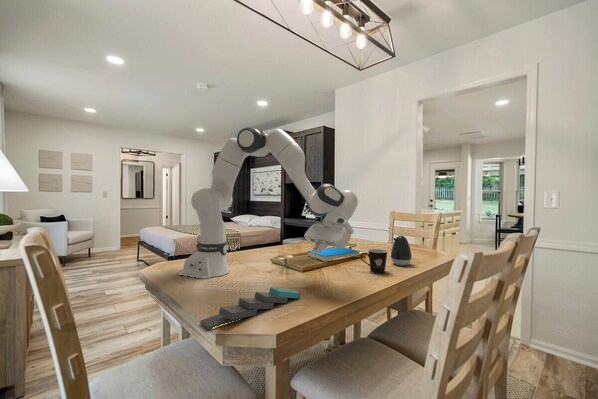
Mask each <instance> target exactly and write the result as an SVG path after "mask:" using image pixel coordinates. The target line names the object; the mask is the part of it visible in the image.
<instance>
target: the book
mask: <svg viewBox="0 0 598 399" xmlns="http://www.w3.org/2000/svg"><path fill="white" fill-rule="evenodd" d="M308 254H309V255H311V256H313V257H316V258H319V259H322V260H329V259H334V258H340V257H347V256H352V255H359V256H360V251H359V250H355V249H351V248H348V247H344V248H339V247H330V248H329V247H326V248H325V249H323V250H322V251H321V253H316V252H314V251H313V249H311V250H308V251H307V255H308Z"/></svg>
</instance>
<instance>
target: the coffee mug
mask: <svg viewBox="0 0 598 399" xmlns="http://www.w3.org/2000/svg"><path fill="white" fill-rule="evenodd" d="M363 255H366V256H367V257H368V259H369V263H368V262H367V261H365V260H364V259H363V258H362V256H363ZM387 256H388V250H386V249H381V248H370V249H368V253H367V252H362V253H361V254H360V255H359V258H360V259H361V261H362V262H363V263H364V264H366V265H368V266H369V268H370V272H371V273H373V274H376V275H377V274H378V275H379V274H385V273H386V266H387Z"/></svg>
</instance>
